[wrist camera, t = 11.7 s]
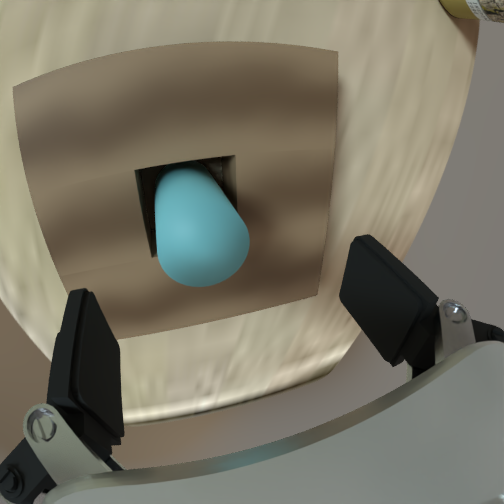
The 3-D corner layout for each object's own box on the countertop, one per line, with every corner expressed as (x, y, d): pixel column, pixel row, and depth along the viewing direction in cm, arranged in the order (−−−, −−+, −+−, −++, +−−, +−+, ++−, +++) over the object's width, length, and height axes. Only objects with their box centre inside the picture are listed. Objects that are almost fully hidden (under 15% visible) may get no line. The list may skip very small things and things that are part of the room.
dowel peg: (150, 164, 19) (148, 214, 11) (210, 155, 20) (248, 197, 12) (159, 219, 21) (166, 294, 14) (214, 209, 22) (250, 277, 15)
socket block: (36, 86, 12) (12, 87, 9) (308, 55, 17) (338, 51, 14) (97, 311, 23) (93, 343, 20) (298, 270, 28) (317, 295, 25)
